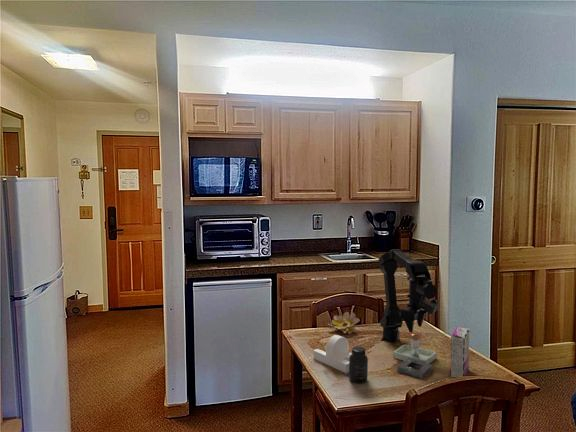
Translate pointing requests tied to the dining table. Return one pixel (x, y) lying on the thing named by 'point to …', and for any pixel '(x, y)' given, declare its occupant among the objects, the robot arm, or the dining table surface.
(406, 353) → the tray
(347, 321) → the decorative flower
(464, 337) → the candy bar box
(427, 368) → the collar
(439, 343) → the dining table surface
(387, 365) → the dining table surface
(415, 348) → the salt shaker
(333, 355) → the white tape roll holder
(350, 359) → the supplement bottle
